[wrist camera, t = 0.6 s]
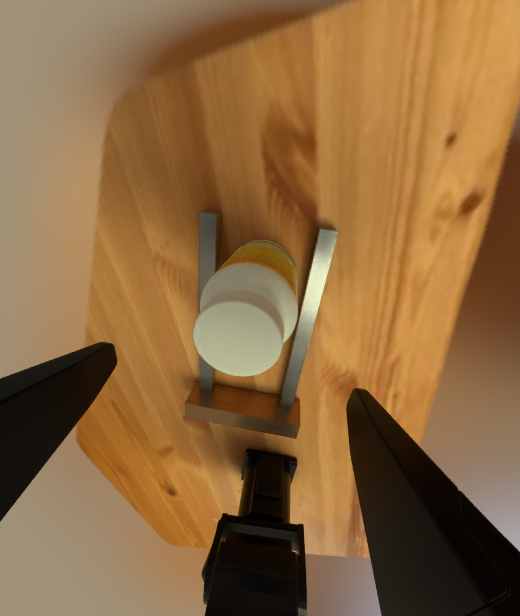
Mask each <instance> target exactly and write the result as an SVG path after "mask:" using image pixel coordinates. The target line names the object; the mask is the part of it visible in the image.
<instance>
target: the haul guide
mask: <svg viewBox="0 0 520 616" xmlns="http://www.w3.org/2000/svg"><path fill="white" fill-rule="evenodd" d="M220 235H221V212H214V211H207V210H204V211H201V212H199V285H200V300H201V295H202V292H203V290H204V287H205V285H206V284H207V282H208V281H209V279H210V278H211V277H212V276H213V275H214V274H215V273H216V272H217V271H218V269H219V261H220ZM337 236H338V231H337V230H336V229H333V228H326V227H318V231H317V236H316V240H315V244H314V249H313V253H312V258H311V262H310V267H309V271H308V276H307V280H306V284H305V289H304V293H303V298H302V302H301V307H300V311H299V315H298V320H297V324H296V329H295V333H294V338H293V342H292V347H291V351H290V355H289V360H288V364H287V369H286V373H285V378H284V382H283V387H282V391H281V395H280V396H278V395H273V394H267V393H262V392H256V391H251V390H246V389H240V388H235V387H229V386H224V385H218V384H215V368H213V367H212V366H211V365H209V364H208V363H207V362H206V361H205V360H204V359H203V358H202V357H201V355H200V381H197V380H196V382H195V384H194V386H193V388H192V390H191V392H190V394H189V396H188V398H187V400H186V402H185V415H186V417H187V418H192V419H197V420H202V421H208V422H213V423H218V424H223V425H228V426H233V427H239V428H244V429H249V430H254V431H259V432H264V433H269V434H275V435H280V436H285V437H290V438H295V439H296V437H297V434H298V431H299V428H300V399H294V397H295V394H296V390H297V386H298V382H299V379H300V375H301V371H302V367H303V363H304V360H305V356H306V352H307V348H308V345H309V341H310V337H311V333H312V330H313V326H314V322H315V318H316V315H317V311H318V307H319V303H320V300H321V296H322V292H323V288H324V285H325V281H326V277H327V273H328V270H329V266H330V262H331V258H332V255H333V251H334V247H335V243H336V240H337Z"/></svg>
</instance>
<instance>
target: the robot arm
mask: <svg viewBox="0 0 520 616" xmlns="http://www.w3.org/2000/svg"><path fill="white" fill-rule="evenodd" d="M116 365H117V356H116V351H115V347H114V345H113V344H112V343H107V342H99V343H96V344H94V345H91V346H88V347H86V348H83V349H80V350H77V351H75V352H72V353H69V354H66V355H64V356H61V357H58V358H55V359H53V360H50V361H47V362H44V363H42V364H39V365H36V366H33V367H31V368H28V369H25V370H22V371H20V372H17V373H14V374H11V375H9V376H6V377H3V378H1V379H0V521H1V520H2V519H3V517H4V516H5V515H6V513H7V512H8V511H9V510H10V508H11V507H12V506H13V505H14V503H15V502H16V501H17V499H18V498H19V497H20V496H21V494H22V493H23V492H24V490H25V489H26V488H27V487H28V485H29V484H30V483H31V481H32V480H33V479H34V478H35V476H36V475H37V474H38V472H39V471H40V470H41V469H42V467H43V466H44V465H45V463H46V462H47V461H48V460H49V458H50V457H51V455H52V454H53V453H54V452H55V450H56V449H57V448H58V447H59V445H60V444H61V443H62V442H63V440H64V439H65V438H66V436H67V435H68V434H69V433H70V431H71V430H72V429H73V427H74V426H75V425H76V424H77V422H78V421H79V420H80V418H81V417H82V416H83V415H84V413H85V412H86V411H87V409H88V408H89V407H90V405H91V404H92V403H93V401H94V400H95V398H96V397H97V395H98V394H99V392H100V391H101V389H102V388H103V386H104V384H105V383H106V381H107V380H108V378H109V377H110V375H111V373H112V372H113V370H114V369H115V367H116ZM346 411H347V423H348V435H349V446H350V455H351V461H352V466H353V471H354V476H355V481H356V486H357V491H358V497H359V502H360V507H361V512H362V517H363V522H364V527H365V533H366V538H367V543H368V548H369V553H370V558H371V563H372V568H373V574H374V578H375V584H376V589H377V594H378V599H379V604H380V609H381V614H382V616H520V552H519V551H518V549H517V548H515V547H514V545H513V544H512V543H511V542H510V541H508V539H507V538H505V537H504V536H503V535H502V534H501V533H500V532H499V531H498V530H497V529H496V527H495V526H493V524H492V523H491V522H490V521H489V520H488V519H487V518H486V517H485V516H484V515H483V514H482V513H481V512H480V511H479V510H478V509H477V508H476V507H475V506H474V504H473V503H472V502H470V500H469V499H468V498H467V497H466V496H465V495H464V494H463V493H462V492H461V491H459V490H458V488H457V486H456V485H455V484H454V483H453V482H452V481H451V480H450V479H449V478H448V477H447V476H446V475H445V474H444V472H443V471H442V470H441V469H440V468H439V467H438V466H437V465H436V464H435V463H434V462H433V461H432V460H431V458H430V457H429V456H428V455H427V454H426V453H425V452H424V451H423V450H422V449H421V448H420V447H419V446H418V444H417V443H416V442H415V441H414V440H413V439H412V438H411V437H410V436H409V435H408V434H407V433H406V432H405V431H404V429H403V428H402V427H401V426H400V425H399V424H398V423H397V422H396V421H395V420H394V419H393V418H392V417H391V415H390V414H389V413H388V412H387V411H386V410H385V409H384V408H383V407H382V406H381V405H380V404H379V403H378V402H377V400H376V399H375V398H374V397H373V396H372V395H371V394H370V393H369V392H368V391H367V390H365V389H360V388H354V389H353V391H352V393H351V395H350V398H349V400H348V402H347V407H346ZM296 467H297V459H295V458H290V457H285V456H280V455H275V454H270V453H265V452H260V451H255V450H250V449H247V450H246V451H245V456H244V463H243V469H242V476H241V479H242V480H243V481H244V482H243V488H242V494H241V500H240V506H239V512H238V516H234V515H228V514H227V513H223V514H222V517H221V520H219V521H218V525H217V530H216V534H215V537H214V541H213V544H212V547H211V549H210V552H209V554H208V557H207V560H206V562H205V564H204V567H203V570H202V578H203V581H204V595H203V599H204V604H206V605H207V607H206V612H205V616H307V588H306V566H305V565H306V564H305V544H304V525H303V524H298V525H297V524H290V485H291V482H292V479H293V476H294V473H295V470H296ZM292 550H293V551H297V554H296V552H292Z"/></svg>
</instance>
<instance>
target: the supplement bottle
mask: <svg viewBox="0 0 520 616" xmlns="http://www.w3.org/2000/svg"><path fill="white" fill-rule="evenodd" d="M297 298H298V296H297V270H296V266H295V263H294V260H293V258H292V257H291V255H290V254H289V253H288V252H287V251H286V250H285V249H284V248H283V247H281V246H280V245H278V244H277V243H274V242H272V241H268V240H254V241H250V242H248V243H245V244H244V245H242V246H241V247H240V248H238V249H237V250H236V251H235V252H234V253H233V255H232V256H231V257H230V258H229V259H228V260H227V261H226V262H225V263H224V264H223V265H222V266H221V267H220V268H219V269H218V271H217V272H216V273H215V274H214V275H213V276H212V277H211V278H210V279H209V281H208V282H207V284H206V285H205V287H204V290H203V292H202V295H201V300H200V314H199V316H198V318H197V319H196V322H195V324H194V329H193V339H194V343H195V346H196V349H197V351H198V352H199V354H200V355H201V357H202V358H203V359H204V360H205V361H206V362H207V363H208V364H209V365H211V366H212V367H213V368H215V369H217V370H219V371H221V372H223V373H226V374H230V375H234V376H252V375H257V374H260V373H262V372H264V371H266V370H268V369H269V368H270V367H272V366H273V365H274V364H275V362H276V361H277V360H278V358H279V356H280V354H281V351H282V346H283V343H284V342H285V341H286V340H287V339H288V338H289V337H290V335H291V334H292V332H293V330H294V328H295V325H296V322H297V317H298V299H297Z"/></svg>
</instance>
